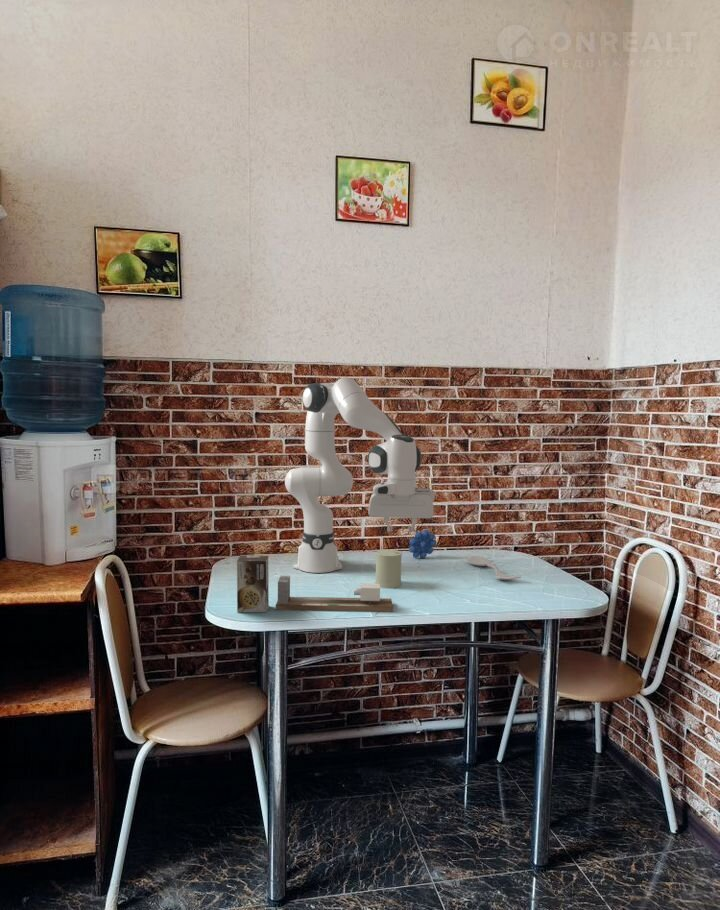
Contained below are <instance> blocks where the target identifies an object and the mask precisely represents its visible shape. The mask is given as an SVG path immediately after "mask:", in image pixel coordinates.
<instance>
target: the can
mask: <svg viewBox="0 0 720 910" xmlns="http://www.w3.org/2000/svg"><path fill="white" fill-rule="evenodd" d="M402 555H403V553H402V551H399V550H395V549H380V550H376V551H375V581H374V583H376V584H380V589H381V588H382V589H396V588H400V587H401V586H402V582H401V581H402Z"/></svg>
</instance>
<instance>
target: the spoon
mask: <svg viewBox="0 0 720 910" xmlns="http://www.w3.org/2000/svg"><path fill="white" fill-rule="evenodd" d="M466 561H467V563H469V564H470V565H473V566H475V567H485V566H487V567H489V568H492V569H493V570H494V571H495V575H494V578H496V579H497V580H501V581H502V580H503V581H504V580H505V581H507V580H514V579H519V578H522V576H521V575H520V574H516V575H512V574H505V573H503V572H501V570H500V569H499V568H498V567H497V566H496V564H494V563H492V562H491V561H490V560H488V559H487V558H485V557H483V556H478V555H470V556H468V557H466Z"/></svg>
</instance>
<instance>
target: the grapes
mask: <svg viewBox="0 0 720 910" xmlns="http://www.w3.org/2000/svg"><path fill="white" fill-rule="evenodd" d="M435 538H436V535H435V533H434V532H430V530H428V529H424V530H423V531H422V532H421V531H417V532H415V533H414V537H412V538H411V539H410V540H409V544H410V546H409V548H408V552H409V553H412V556H413V559H414V558H416V559H417V558H421V559H425V558H427V556H428V555H431V554H432V553H433V552H434V547H435V546H437V540H436V539H435Z"/></svg>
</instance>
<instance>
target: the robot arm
mask: <svg viewBox="0 0 720 910" xmlns="http://www.w3.org/2000/svg"><path fill="white" fill-rule="evenodd" d="M301 396H302V397H301V401H302V405H303V407H304V409H305V410H306V411H307V412H306V417H305V424H304V425H305V427H304V428H305V431H304V435H305V436H304V449H305V452H306V453H307V455H309V456H310V457H312V458H314V459H315V460H318V461H319V462H320V464H321V465H320V467H319V466H317V467H316V466H315V467H314V466H311V467H308V466H301V467H296V468H291V469H290V470H288V472H287V473H286V475H285V478H284V486H285V489H286V491H287V492H288V494H290V495H291V496H293V498H295V499H296V501H297V502H298V503H299V505H300V507H301V510H302V514H303V531H302V535H301V536H302V537H301V538H302V542H301V544H300V545H299V546H298V553H297V555H298V557H297V562H295V563H294V564H293V565H292V567H293V569H297V570H300V571H303V572H306V573H314V574H315V573H316V574H319V573H321V574H324V573H330V572H335V571H337V570H338V571H339V570H342V569H343V565H342V563H341V561H339V556H338V547H337V545H336V544H335V542H334V541H335V533H334V526H333V525H334V513H333V511H332V509H331V508H329V507H328V506H327V505H324V504H322V503H320V502H319V501H318V497H339V496H344V495H348V494H349V493H350V492H351V490H352V488H353V485H354V478H353V475H352V473H351V472H350V471H349V470H348V469H347V468H346V467H345V466H344V465H343V464H342V463H341V461H340V460H339V458H338V456H337V452H336V447H335V446H336V445H335V444H336V442H335V433H336V432H335V429H336V428H335V418H336V416H337V415H338V414H340V415H341V417H342V419H343V420H344V422H346V424H348V426H350V427H352V428H355V429H357V430H358V429H359V430H363V431H369V432H373V433H375V434H378V435H380V436H381V437H382V438H383V439H384V440H385V441H384V442H382V443H378V444H375V445H373V446H372V447H371V448H370V450H369V452H368V455H367V463H368V467H369V468H370V470H371V472H373V473H374V474H379V475H387V479H386V481H384V482H380V483H376V484H374V485H373V487H372V491H373V493H371V496H370V498H369V504H368V511H367V513H368V516H369V517H370V518H380V519H381V518H383V520H384V523H385V525H386V527H387V528H386V529H387V531H386V532H387V533H393V525H391V524H389V521H390V518H392V519H411V521H412V523H411V525H408V526H407V527H408V529H407V532H408V533H414V527H415V526H416V524H417V522H418V519H432V518H433V517H434V515H435V514H434V511H435V510H434V501H435V500H436V494H435V492H434V490H432V489H431V488H430V487H429V488H428V487H427V488H424V487H423V488H422V487H417V476H416V472H417V471H418V470H419V468H420V467H421V465H422V462H423V455H422V451H421V450H420V448H419V446H418V445H417V444H416V440H415V439H414V438H413V437H412V436H409V435H407V434H404V433H403V431H402V430H401V429H400V428H399V426H398V425H397V423H395V422H394V420H393V419H392V418H391V417H390V416H389V415H388V414H386V413H385V412H384V411H383V410H381V409H380V408H379V407H377V406H376V404H375V403H373V401H372V400H371V399H370V398H369V396H368V395H367V393H366V392H365V391H364V389H363V388H362V386H361V385H359V383H358V382H357V381H356V380H354V379H353V378H351V377H341V378H339V379H337V381H335V382H323V383H322V382H321V383H319V382H315V383H309V384H307V385H306V386H305V388H304V389H303V390H302V395H301Z"/></svg>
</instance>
